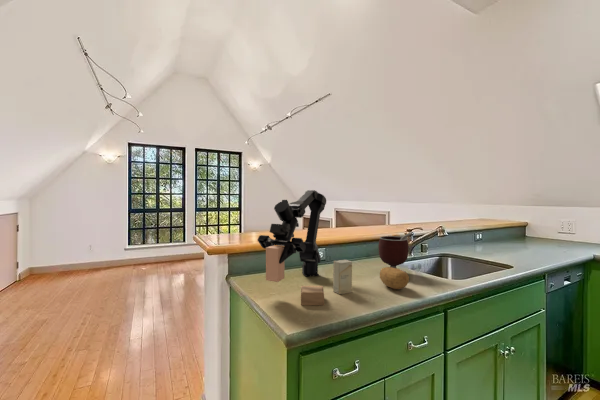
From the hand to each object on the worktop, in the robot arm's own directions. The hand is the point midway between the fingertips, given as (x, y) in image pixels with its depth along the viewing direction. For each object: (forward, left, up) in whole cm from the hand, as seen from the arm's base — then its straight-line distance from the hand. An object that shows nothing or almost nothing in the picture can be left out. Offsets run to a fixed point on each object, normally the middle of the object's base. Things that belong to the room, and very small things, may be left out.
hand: (273, 262), depth 104 cm
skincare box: (-28, +1, -14) cm, 31 cm away
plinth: (-13, +6, -13) cm, 20 cm away
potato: (-50, +3, -14) cm, 51 cm away
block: (-1, -1, -7) cm, 7 cm away
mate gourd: (-64, -15, -14) cm, 67 cm away
